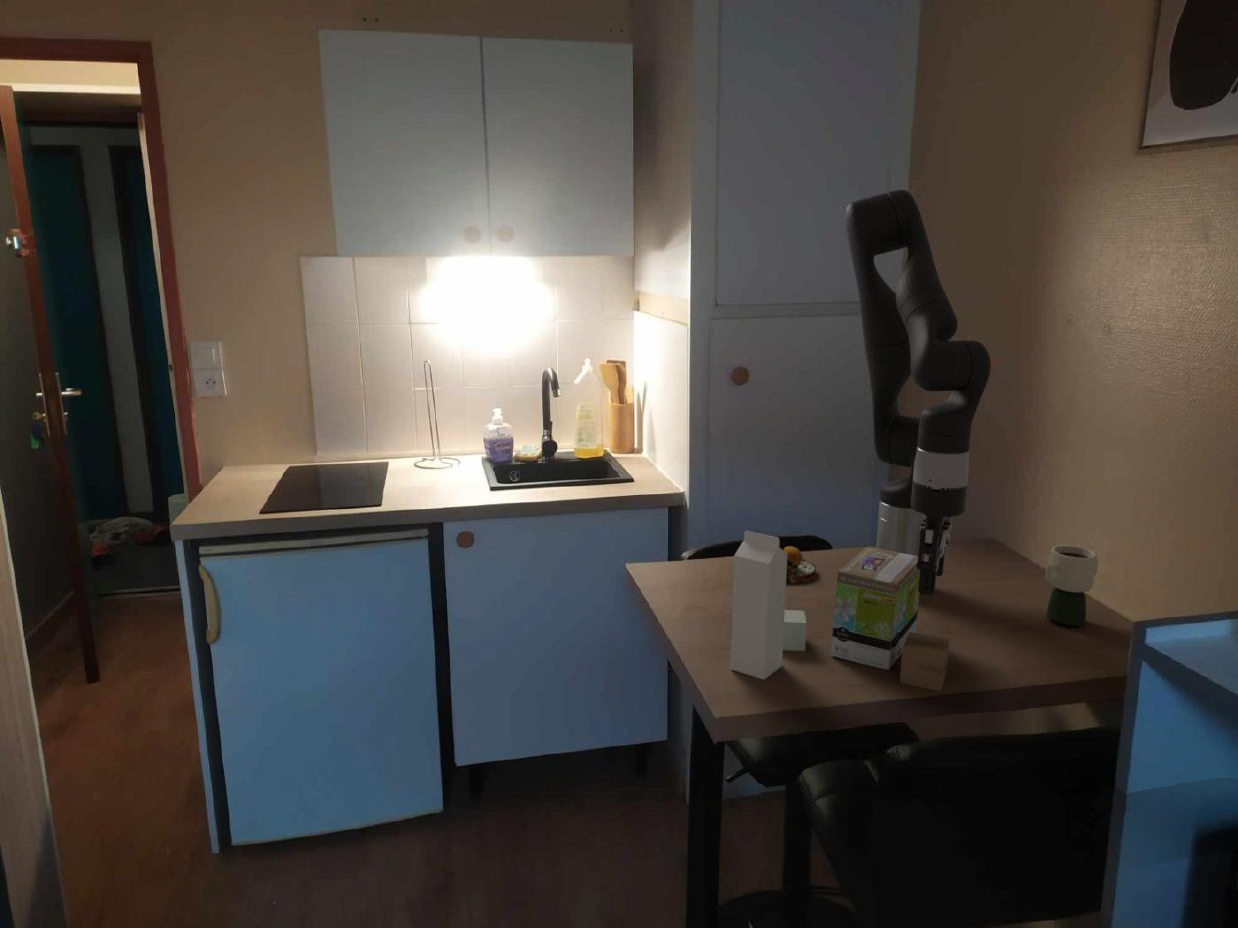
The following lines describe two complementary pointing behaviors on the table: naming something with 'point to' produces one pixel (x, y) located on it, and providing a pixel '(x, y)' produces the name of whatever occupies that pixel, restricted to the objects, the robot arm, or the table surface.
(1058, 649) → the table surface
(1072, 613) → the character mug
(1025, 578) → the table surface
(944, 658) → the walnut cube
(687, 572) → the table surface
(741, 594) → the milk
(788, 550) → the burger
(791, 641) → the sage block
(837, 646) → the tea box
